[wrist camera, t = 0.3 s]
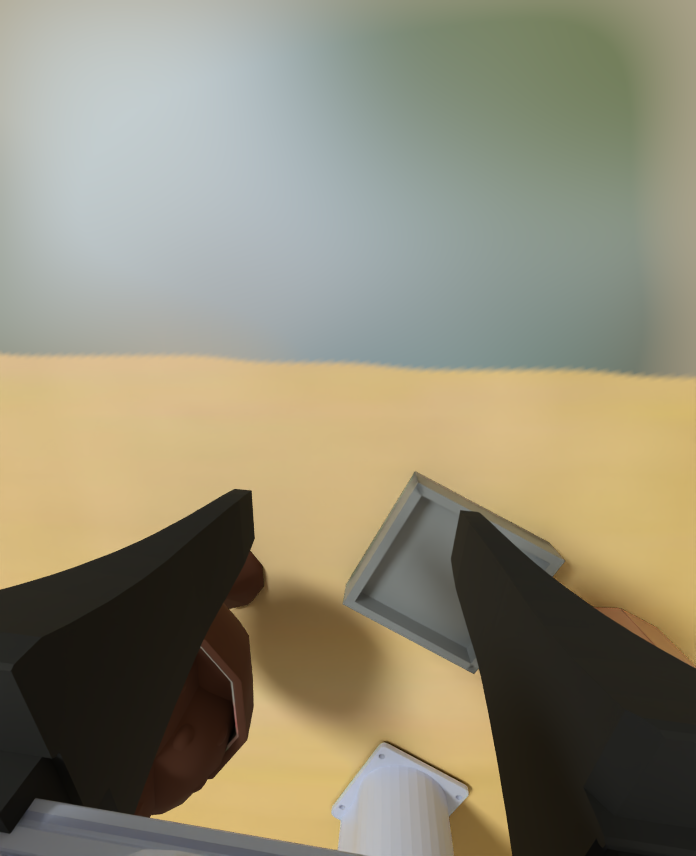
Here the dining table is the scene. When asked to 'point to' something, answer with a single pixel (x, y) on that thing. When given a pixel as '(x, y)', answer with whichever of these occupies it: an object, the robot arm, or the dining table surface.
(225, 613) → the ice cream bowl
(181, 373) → the dining table surface
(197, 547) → the robot arm
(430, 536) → the tray
